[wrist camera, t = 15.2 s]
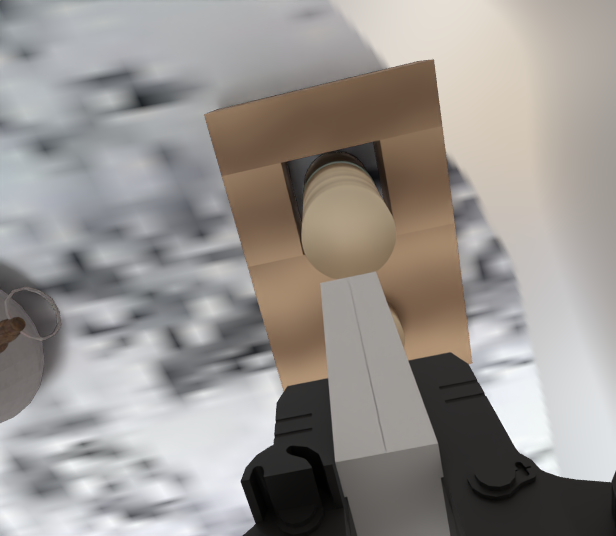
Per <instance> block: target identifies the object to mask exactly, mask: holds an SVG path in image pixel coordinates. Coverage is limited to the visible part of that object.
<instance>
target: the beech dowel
mask: <svg viewBox="0 0 616 536" xmlns="http://www.w3.org/2000/svg"><path fill="white" fill-rule="evenodd" d="M301 237H302V246H303V250H304V253H305V255H306V257H307V259H308V260H309V262H310V263H311V264H312V265H313V267H314V268H316V269H317V270H318V271H319V272H321V273H322V274H324V275H326V276H328V277H330V278H333V279H342V278H347V277H352V276H356V275H361V274H366V273H371V272H375V271H378V270H379V269H380V268H381V267H382V266H383V265H384V264H385V263H386V262H387V261H388V259H389V258H390V256H391V254H392V252H393V249H394V246H395V242H396V226H395V222H394V219H393V217H392V215H391V213H390V211H389V209H388V208H387V206H386V204H385V202H384V201H383V199H382V197H381V195H380V194H379V192H378V190H377V188H376V186H375V183H374V181H373V180H372V178H371V176H370V175H369V174H368V172H367V171H366V169H365V168H364V166H363V164H362V163H361V162H360V161H359V160H358V159H357V158H356V157H354V156H352V155H351V154H348V153H345V152H329V153H326V154H324V155H321V156H320V157H318V158H317V159H316V160H315V161H314V162H313V163H312V164H311V165H310V167H309V168H308V170H307V173H306V176H305V182H304V191H303V217H302V234H301Z"/></svg>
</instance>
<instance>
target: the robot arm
mask: <svg viewBox="0 0 616 536" xmlns="http://www.w3.org/2000/svg"><path fill="white" fill-rule="evenodd" d="M320 285H321V297H322V309H323V321H324V333H325V345H326V358H327V370H328V378H326V379H321V380H316V381H310V382H305V383H300V384H295V385H290V386H287V387H286V389H285V391H284V392H283V394H282V395H281V397H280V399H279V400H278V402H277V407H276V424H275V433H274V435H275V438H274V445H272V446H270V447H269V448H267V449H266V450H264V451H262V452H261V453H259V454H258V455H256V457H255V458H254V459H253V460H252V461H251V462H250V463H249V465H248V466H247V467H246V469H245V471H244V474H243V476H242V479H241V484H242V487H243V489H244V492H245V495H246V498H247V501H248V503H249V506H250V509H251V512H252V515H253V517H254V520H255V523H256V524H255V525H254V526H253V527H252V528H251V529H250V530H249V531H248V532H246V533H245V534H244V535H243V536H616V472H615V474H614V477H613V479H612V482H599V481H587V480H575V479H569V478H563V477H559V476H556V475H553V474H550V473H547V472H544V471H542V470H540V469H539V467H538V466H537V465H536V464H535V463H534V462H533V461H532V460H531V459H529V458H527V457H526V456H524V455H522V454H520V453H519V452H518V451H517V450H516V448H515V447H514V445H513V443H512V441H511V439H510V438H509V436H508V434H507V432H506V430H505V429H504V427H503V425H502V423H501V422H500V420H499V418H498V416H497V414H496V413H495V411H494V409H493V407H492V406H491V404H490V402H489V400H488V398H487V397H486V396H485V394H484V391H483V390H482V388H481V386H480V384H479V383H478V382H477V379H476V377H475V375H474V373H473V372H472V370H471V368H470V366H469V365H468V363H466V362H465V361H463V360H462V359H460V358H459V357H457V356H456V355H454V354H453V353H451V352H448V353H443V354H438V355H433V356H428V357H423V358H418V359H413V360H408V359H407V356H406V353H405V351H404V348H403V345H402V342H401V339H400V337H399V334H398V331H397V328H396V326H395V323H394V320H393V317H392V315H391V312H390V309H389V306H388V304H387V301H386V298H385V295H384V293H383V290H382V287H381V284H380V281H379V279H378V276H377V273H376V271H375V272H371V273H366V274H361V275H356V276H352V277H347V278H342V279H337V280H333V281H328V282H323V283H320Z"/></svg>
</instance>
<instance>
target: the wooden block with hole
mask: <svg viewBox="0 0 616 536" xmlns="http://www.w3.org/2000/svg"><path fill="white" fill-rule="evenodd" d="M204 116H205V120H206V123H207V127H208V130H209V134H210V137H211V141H212V144H213V147H214V151H215V154H216V158H217V161H218V165H219V168H220V172H221V175H222V179H223V182H224V186H225V189H226V193H227V196H228V200H229V203H230V207H231V210H232V213H233V217H234V220H235V224H236V227H237V231H238V234H239V238H240V241H241V245H242V248H243V252H244V255H245V259H246V262H247V266H248V269H249V273H250V276H251V279H252V283H253V286H254V290H255V293H256V297H257V300H258V304H259V307H260V311H261V314H262V318H263V321H264V325H265V328H266V332H267V335H268V339H269V342H270V345H271V349H272V352H273V356H274V359H275V363H276V366H277V370H278V373H279V377H280V380H281V384H282V387H283V391H285V389H286V387H287V386H290V385H295V384H300V383H305V382H310V381H316V380H321V379H326V378H328V370H327V358H326V345H325V333H324V321H323V309H322V297H321V285H320V283H323V282H328V281H333V280H337V279H333V278H330V277H328V276H326V275H324V274H322V273H321V272H319V271H318V270H317V269H316V268H314V267H313V265H312V264H311V263H310V262H309V260H308V259H307V257H306V255H305V253H304V250H303V246H302V237H301V234H302V224H301V219H300V215H299V211H298V207H297V203H296V198H295V194H294V190H293V186H292V182H291V178H290V173H289V169H288V165H287V161H291V160H295V159H300V158H304V157H309V156H313V155H317V154H322V153H326V152H330V151H335V150H339V149H344V148H348V147H352V146H357V145H361V144H365V143H370V142H373V144H374V149H375V155H376V161H377V166H378V172H379V178H380V183H381V189H382V195H383V200H384V202H385V204H386V206H387V208H388V209H389V211H390V213H391V215H392V217H393V219H394V222H395V226H396V242H395V246H394V249H393V252H392V254H391V256H390V258H389V259H388V261H387V262H386V263H385V264H384V265H383V266H382V267H381V268H380V269H379V270H378V271H376V273H377V276H378V279H379V281H380V284H381V287H382V290H383V293H384V295H385V298H386V301H387V304H388V306H389V309H390V312H391V315H392V317H393V320H394V323H395V326H396V328H397V331H398V334H399V337H400V339H401V342H402V345H403V348H404V351H405V353H406V356H407V359H408V360H413V359H418V358H423V357H428V356H433V355H438V354H443V353H448V352H451V353H453V354H454V355H456V356H457V357H459V358H460V359H462V360H463V361H465V362H466V363H468V364H471V363H472V356H471V349H470V341H469V333H468V325H467V317H466V309H465V301H464V293H463V286H462V278H461V270H460V262H459V254H458V246H457V238H456V230H455V222H454V215H453V207H452V199H451V191H450V183H449V175H448V167H447V159H446V151H445V144H444V136H443V128H442V120H441V113H440V105H439V97H438V89H437V81H436V73H435V65H434V60H424V61H417V62H413V63H409V64H404V65H401V66H396V67H392V68H388V69H384V70H380V71H375V72H371V73H367V74H363V75H359V76H355V77H350V78H346V79H342V80H338V81H334V82H330V83H325V84H321V85H317V86H313V87H309V88H305V89H300V90H296V91H292V92H288V93H284V94H280V95H275V96H271V97H267V98H263V99H259V100H255V101H250V102H246V103H242V104H238V105H234V106H230V107H226V108H221V109H217V110H215V111H212V112H209V113H207V114H204Z"/></svg>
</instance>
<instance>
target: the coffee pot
mask: <svg viewBox="0 0 616 536" xmlns="http://www.w3.org/2000/svg"><path fill="white" fill-rule="evenodd" d="M22 290H26V291H30V292H34V293H37V294H39V295H40V296H42V297H43V298H45V299H46V300H47V301H49V303H50V304H51V306H52V308H53V310H54V312H55V314H56V321H57V326H56V328H55V330H54V332H53V333H52V334H51V335H48V336H46V337H40V336H39V333H38V331H37V329H36V326H35V324H34V322H33V321H32V320H31V318H30V317H29V316H28V314H27V313H26V312H25V311H24V309H23V308H22V307H21V305H19V304H18V303H17V302H16V301H15V300H14V299H12V298H11V297H12V296H13V294H14V293H15V292H19V291H22ZM60 326H61V318H60V311H59V310H58V308H57V306H56V304H55V303H54V301H53V299H52V298H51V297H49V296H48V295H46V294H45V293H43V292H42V291H40V290H38V289H34V288H30V287H26V286H25V287H22V288H18V289H15V290H13V291H11V293H10V294H9V295H8V294H6V293H5V292H4V291H3V290H1V289H0V423H2V422H4V421H6V420H8V419H11V418H13V417H15V416H16V415H17V414H18V413H20V412H21V411H22V410H23V409H24V408H25V407H26V406H28V405H29V404H30V403H31V401H32V399H33V398H34V396H35V394H36V392H37V390H38V389H39V387H40V385H41V379H42V374H43V368H44V353H43V346H42V341H43V340H45V339H47V338H50V337H52V336H54V335H56V333H57V332H58V330H59V328H60Z"/></svg>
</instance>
